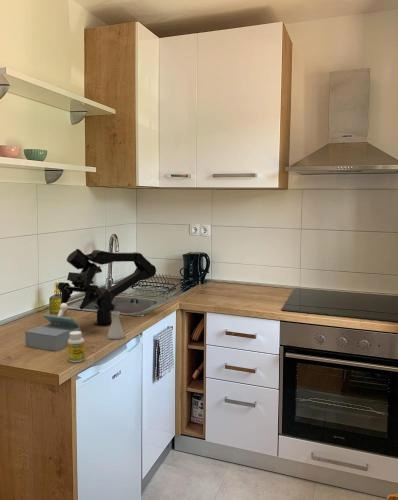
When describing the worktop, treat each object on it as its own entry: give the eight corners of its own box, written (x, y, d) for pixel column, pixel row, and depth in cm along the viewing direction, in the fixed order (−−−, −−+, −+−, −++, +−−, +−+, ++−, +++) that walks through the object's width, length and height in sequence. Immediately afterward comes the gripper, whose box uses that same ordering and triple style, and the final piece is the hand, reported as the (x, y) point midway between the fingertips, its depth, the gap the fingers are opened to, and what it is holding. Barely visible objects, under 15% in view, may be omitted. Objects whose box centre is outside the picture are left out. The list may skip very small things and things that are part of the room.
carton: (51, 335, 181) (51, 321, 180) (80, 339, 176) (80, 325, 175) (25, 346, 168) (25, 331, 167) (56, 351, 163) (55, 336, 162)
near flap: (51, 323, 180) (58, 307, 184) (79, 326, 175) (86, 311, 178) (41, 315, 175) (49, 300, 178) (71, 319, 170) (78, 303, 173)
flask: (126, 334, 182) (126, 310, 181) (124, 340, 175) (123, 315, 174) (108, 334, 182) (108, 310, 181) (105, 340, 175) (104, 315, 174)
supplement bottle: (81, 356, 158) (80, 329, 157) (87, 360, 154) (86, 333, 153) (66, 359, 155) (65, 332, 154) (71, 364, 151) (70, 336, 150)
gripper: (59, 262, 186) (41, 294, 177) (97, 265, 179) (81, 299, 171) (71, 278, 194) (55, 309, 186) (109, 281, 188) (94, 314, 179)
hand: (71, 307), depth 180 cm, fingers open, 9 cm apart
